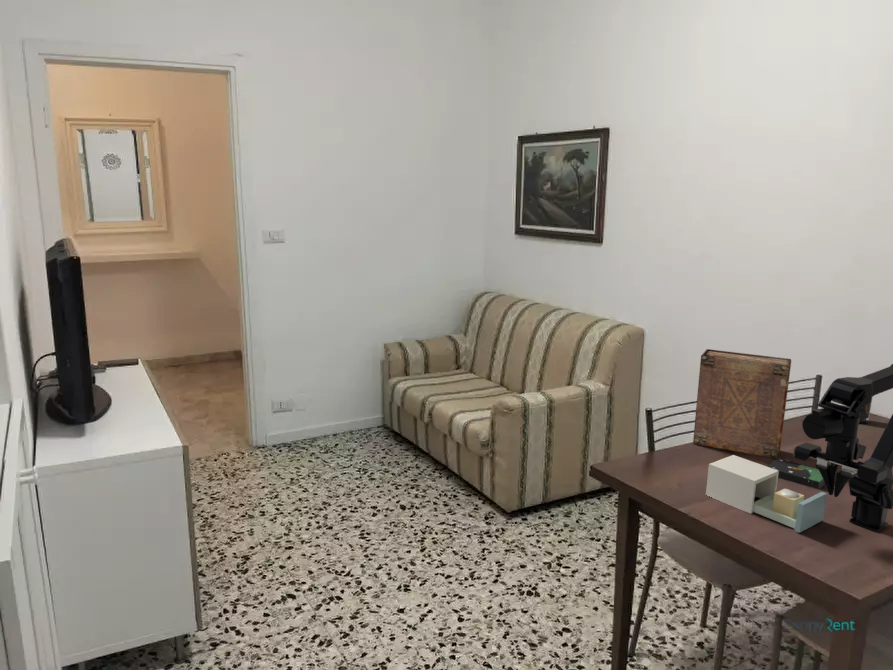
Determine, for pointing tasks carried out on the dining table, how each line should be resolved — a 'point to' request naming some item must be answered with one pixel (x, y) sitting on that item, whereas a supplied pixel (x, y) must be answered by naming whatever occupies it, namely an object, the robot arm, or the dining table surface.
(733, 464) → the panel
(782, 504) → the dome button cube
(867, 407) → the supplement container
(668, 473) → the dining table surface
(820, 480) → the disk drive
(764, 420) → the book
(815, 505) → the tray
